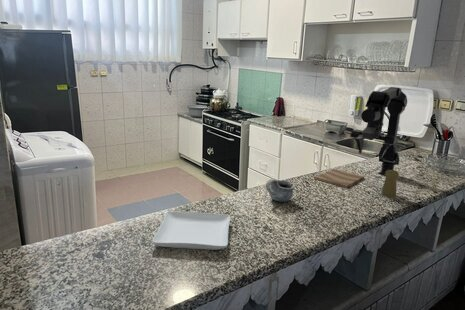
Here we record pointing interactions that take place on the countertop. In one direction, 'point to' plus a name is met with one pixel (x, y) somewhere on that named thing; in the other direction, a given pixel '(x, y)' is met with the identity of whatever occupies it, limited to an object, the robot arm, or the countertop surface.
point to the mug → (280, 189)
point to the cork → (390, 184)
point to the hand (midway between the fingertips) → (370, 155)
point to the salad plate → (193, 230)
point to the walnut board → (339, 178)
